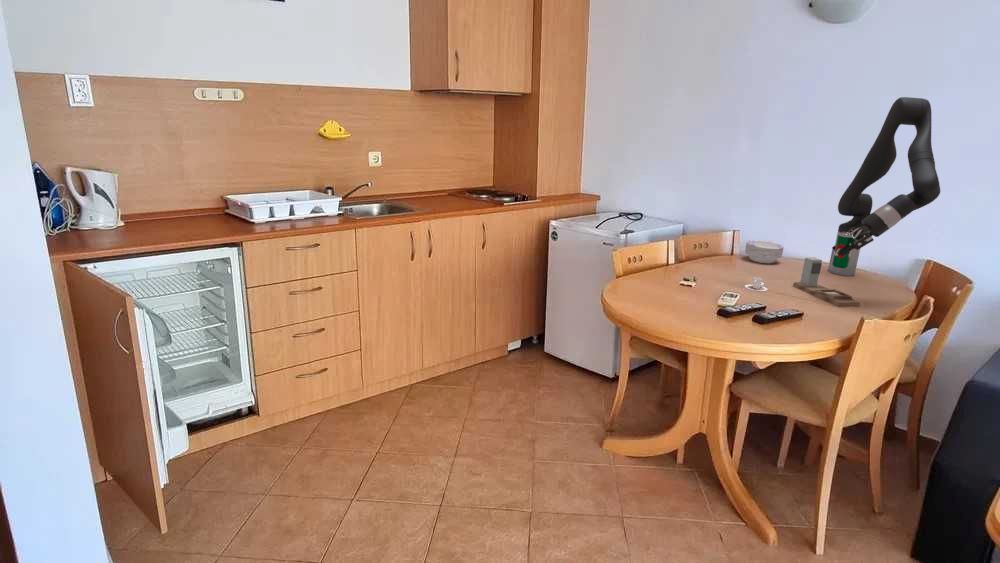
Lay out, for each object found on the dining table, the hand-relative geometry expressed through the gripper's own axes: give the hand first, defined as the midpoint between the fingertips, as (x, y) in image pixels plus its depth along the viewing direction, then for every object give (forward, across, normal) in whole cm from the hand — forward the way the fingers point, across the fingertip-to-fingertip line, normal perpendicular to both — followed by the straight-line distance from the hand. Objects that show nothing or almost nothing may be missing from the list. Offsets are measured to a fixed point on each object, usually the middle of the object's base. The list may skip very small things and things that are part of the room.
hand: (837, 251), depth 208 cm
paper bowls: (+19, -52, +6) cm, 56 cm away
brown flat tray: (+12, -4, +12) cm, 18 cm away
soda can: (+3, 0, +5) cm, 6 cm away
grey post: (+13, -12, +9) cm, 20 cm away
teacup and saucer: (+27, -7, -1) cm, 27 cm away
